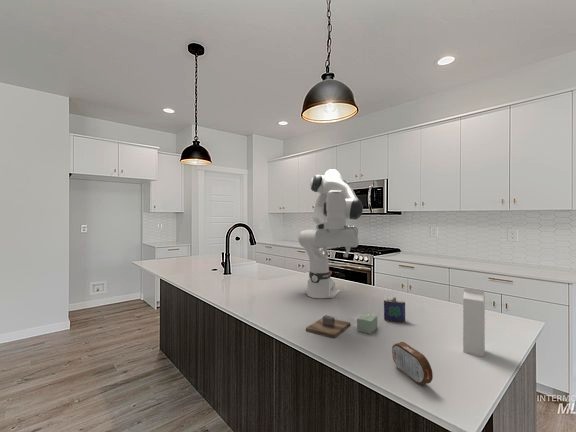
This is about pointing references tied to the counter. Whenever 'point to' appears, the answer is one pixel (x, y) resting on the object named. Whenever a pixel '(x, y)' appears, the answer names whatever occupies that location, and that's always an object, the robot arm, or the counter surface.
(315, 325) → the board
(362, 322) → the pale green block
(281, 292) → the counter surface
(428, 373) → the tin
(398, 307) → the flask
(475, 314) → the milk
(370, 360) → the counter surface
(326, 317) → the grey block
